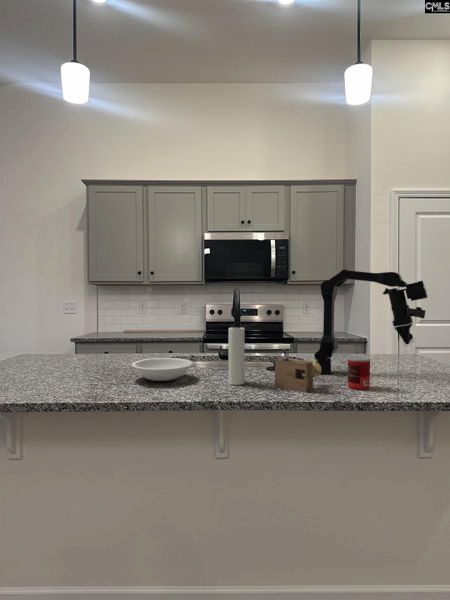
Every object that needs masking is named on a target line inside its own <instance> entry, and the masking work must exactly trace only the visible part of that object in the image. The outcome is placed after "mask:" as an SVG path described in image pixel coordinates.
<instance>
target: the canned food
mask: <svg viewBox="0 0 450 600" xmlns="http://www.w3.org/2000/svg"><path fill="white" fill-rule="evenodd" d="M370 381H371V358H370V357H367V356H361V355H353V356H348V357H347V386H348V388H349V389H351V390H355V391H367V390H369V389H370V387H371V382H370Z"/></svg>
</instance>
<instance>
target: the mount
mask: <svg viewBox="0 0 450 600" xmlns="http://www.w3.org/2000/svg"><path fill="white" fill-rule="evenodd" d="M303 370H305V375H304V374H303ZM274 388H277V389H278V388H279V389H284V390H289V391H296V392H300V393H308V392H310V391H312V390H314V377H313V361H311V360H305V359H295V358H289V360H288V361H282V360H281V358H278V359H275V360H274Z"/></svg>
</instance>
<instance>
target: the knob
mask: <svg viewBox="0 0 450 600" xmlns="http://www.w3.org/2000/svg"><path fill="white" fill-rule="evenodd" d="M321 370H322V369H321V366H320V364H319V363H318V362H317V361H313V378H314V377H318V376H319V375H321V374H320V373H321ZM303 376H305V370H303Z"/></svg>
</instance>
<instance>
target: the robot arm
mask: <svg viewBox="0 0 450 600" xmlns="http://www.w3.org/2000/svg"><path fill="white" fill-rule="evenodd" d="M348 280H354V281H363V282H369V283H370V282H371V283H377V284H379V285H383V286H387V287H385V288H384V289H385V290H384V291H383V292H382V295H388V298H389V302H390V309H391V312H392V315H393V320H392V327H394V328H393V329H395V331H396V332H397V334H398V335H399V337H401V339H402V341H403V343H405V345H409V344H410V342H411V336H410V335H411V327H413V323H414V322H413V317H414V318H415V317H416V318H420V319H425V317H426V311H427V310H426V309H422V307H420V306H416V307H415V308H410V307H409V305H408V302H407V300H410V301H411V302H413V301H414V302H415V301H419V300H423V299H427V298H428V292H427V288H425V284H424V281H423V280H419V281H417V282H412V283H407V281H404V280H403V277H402V276H401V274H400V273H398V272H395V271H386V272H385V271H384V272H369V271H368V272H367V271H360V270H359V271H357V270H349V269H342V270H340V271H339V273H337V274H335V275H334V276H332V277H330V278H329V279H327V280H326V279H325V280H324V281H323V282H321V284H320V293H321V294H320V295H321V298H322V300H323V330H322V331H323V334H322V337H321V340H320V345H319V349H318V350H317V351H316V352H315V353H314V354H313V356H314V359H315V360H316V362H318V363H319V364H320V366H321V369H322V370H321V373H320V375H331V374H335V372H334V371H332V359H331V358H332V357H333V355H334V354H336V353H337V350H338V349H339V348H340V347H339V338H336V336H335V302H336V301H335V300H336V298H337V295H338V291H339V288H340V287H341V286H342V285H343V284H344V283H345V282H346V281H348ZM388 287H391V288H388ZM398 287H399V288H402V289H398ZM406 298H407V299H406Z"/></svg>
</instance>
